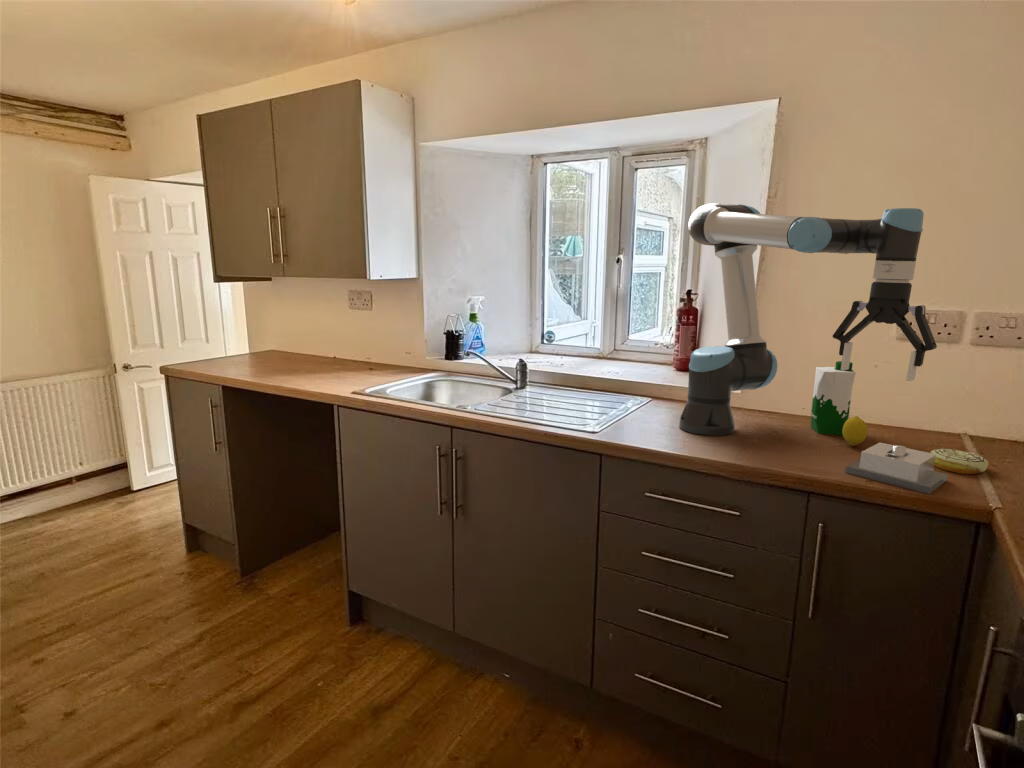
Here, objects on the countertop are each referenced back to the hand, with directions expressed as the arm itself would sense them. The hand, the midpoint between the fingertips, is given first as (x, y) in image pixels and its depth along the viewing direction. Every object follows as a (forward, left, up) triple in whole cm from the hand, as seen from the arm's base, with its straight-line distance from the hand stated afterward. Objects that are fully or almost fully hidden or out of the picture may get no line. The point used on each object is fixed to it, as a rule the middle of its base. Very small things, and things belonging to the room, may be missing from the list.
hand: (876, 374), depth 130 cm
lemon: (-7, +13, -22) cm, 26 cm away
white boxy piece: (+8, -4, -20) cm, 22 cm away
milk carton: (-17, +22, -22) cm, 35 cm away
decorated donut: (+15, +14, -22) cm, 30 cm away
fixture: (+8, -4, -22) cm, 23 cm away
